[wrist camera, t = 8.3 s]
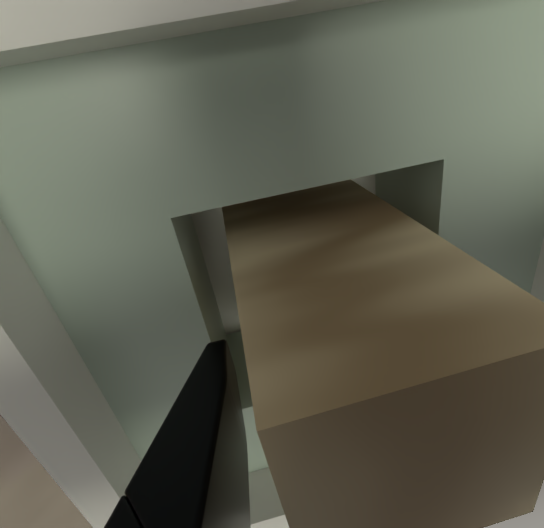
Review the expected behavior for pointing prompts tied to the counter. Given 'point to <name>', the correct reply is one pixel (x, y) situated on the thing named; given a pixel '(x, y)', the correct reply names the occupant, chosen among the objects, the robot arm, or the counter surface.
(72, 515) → the counter surface
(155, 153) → the open box
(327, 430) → the maple peg
